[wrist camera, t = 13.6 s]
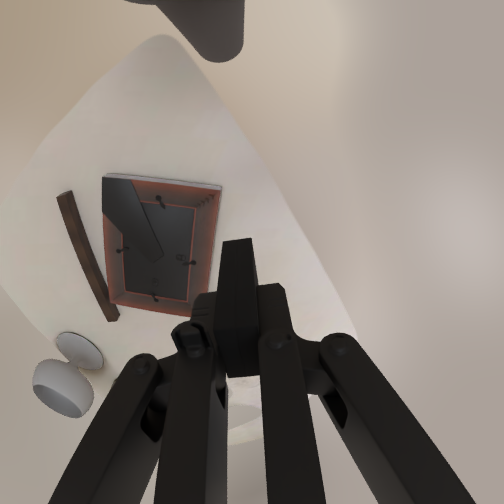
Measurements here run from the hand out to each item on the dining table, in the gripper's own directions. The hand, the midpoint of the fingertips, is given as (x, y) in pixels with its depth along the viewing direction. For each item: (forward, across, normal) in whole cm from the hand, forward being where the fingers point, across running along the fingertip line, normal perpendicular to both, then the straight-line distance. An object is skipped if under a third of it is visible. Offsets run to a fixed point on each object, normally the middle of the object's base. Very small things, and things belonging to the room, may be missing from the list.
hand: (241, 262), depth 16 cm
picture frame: (+25, -14, -10) cm, 30 cm away
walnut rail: (+24, -27, -10) cm, 38 cm away
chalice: (+25, -42, -32) cm, 58 cm away
